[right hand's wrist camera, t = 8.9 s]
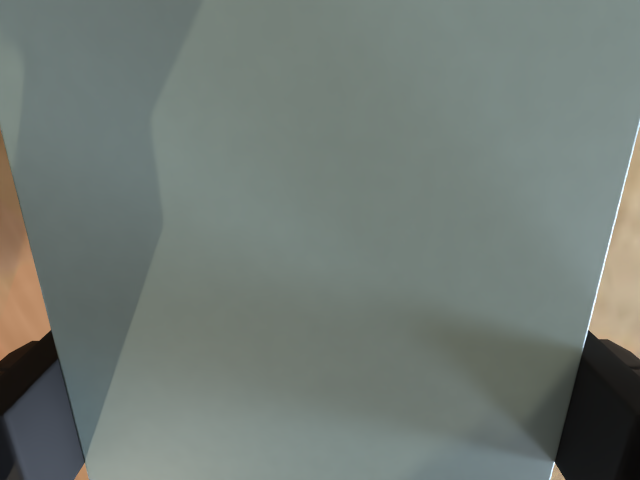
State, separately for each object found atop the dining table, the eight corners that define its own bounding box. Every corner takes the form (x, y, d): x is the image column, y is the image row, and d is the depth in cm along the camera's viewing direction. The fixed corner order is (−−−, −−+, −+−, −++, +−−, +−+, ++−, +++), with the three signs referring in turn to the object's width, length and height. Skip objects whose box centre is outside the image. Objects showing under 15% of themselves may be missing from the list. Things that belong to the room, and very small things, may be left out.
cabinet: (164, -211, 14) (-328, -1155, 3) (475, -212, 14) (964, -1156, 3) (214, 303, 20) (101, 533, 10) (425, 303, 20) (537, 533, 10)
